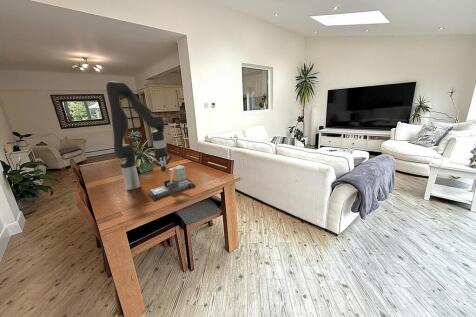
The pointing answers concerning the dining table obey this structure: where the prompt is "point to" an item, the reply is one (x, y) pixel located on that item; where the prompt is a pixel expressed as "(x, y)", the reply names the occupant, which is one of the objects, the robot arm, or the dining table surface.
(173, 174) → the breaker lever
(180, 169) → the light bulb box
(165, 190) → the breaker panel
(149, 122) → the robot arm
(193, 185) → the cord bundle far
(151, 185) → the dining table surface
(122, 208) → the dining table surface
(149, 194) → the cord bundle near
